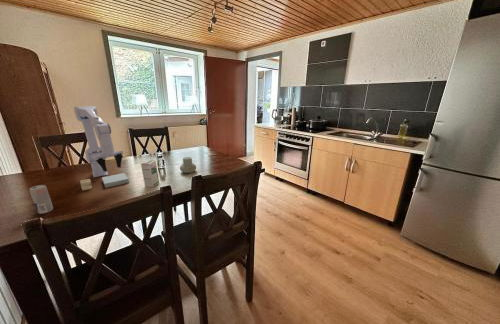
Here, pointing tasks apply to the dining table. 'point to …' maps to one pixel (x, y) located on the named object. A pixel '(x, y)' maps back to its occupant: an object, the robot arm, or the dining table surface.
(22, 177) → the dining table surface
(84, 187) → the birch cube
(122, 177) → the grey-blue block
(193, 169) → the air freshener
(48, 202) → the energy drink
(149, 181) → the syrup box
